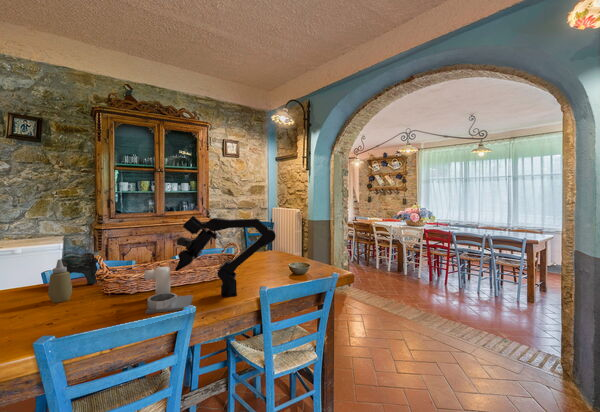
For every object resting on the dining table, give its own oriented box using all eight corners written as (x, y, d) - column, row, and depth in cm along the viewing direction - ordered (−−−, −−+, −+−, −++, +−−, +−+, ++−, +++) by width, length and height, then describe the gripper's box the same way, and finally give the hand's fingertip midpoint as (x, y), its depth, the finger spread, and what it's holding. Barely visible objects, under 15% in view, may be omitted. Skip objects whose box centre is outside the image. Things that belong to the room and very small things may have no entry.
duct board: (192, 297, 126) (192, 288, 126) (189, 309, 113) (189, 299, 113) (152, 301, 122) (152, 291, 122) (144, 314, 108) (144, 303, 108)
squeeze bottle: (76, 298, 124) (75, 258, 124) (54, 305, 117) (53, 262, 116) (66, 296, 128) (65, 257, 127) (44, 302, 120) (43, 260, 120)
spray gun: (102, 282, 148) (101, 244, 147) (94, 286, 142) (93, 247, 141) (63, 283, 147) (62, 245, 146) (53, 287, 141) (52, 247, 140)
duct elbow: (171, 293, 131) (170, 266, 130) (169, 298, 125) (168, 269, 124) (147, 296, 128) (146, 267, 127) (144, 300, 122) (143, 271, 122)
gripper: (192, 227, 136) (171, 252, 135) (180, 232, 117) (156, 261, 116) (210, 241, 137) (190, 266, 136) (202, 248, 118) (178, 278, 118)
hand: (179, 267), depth 127 cm, fingers open, 9 cm apart
